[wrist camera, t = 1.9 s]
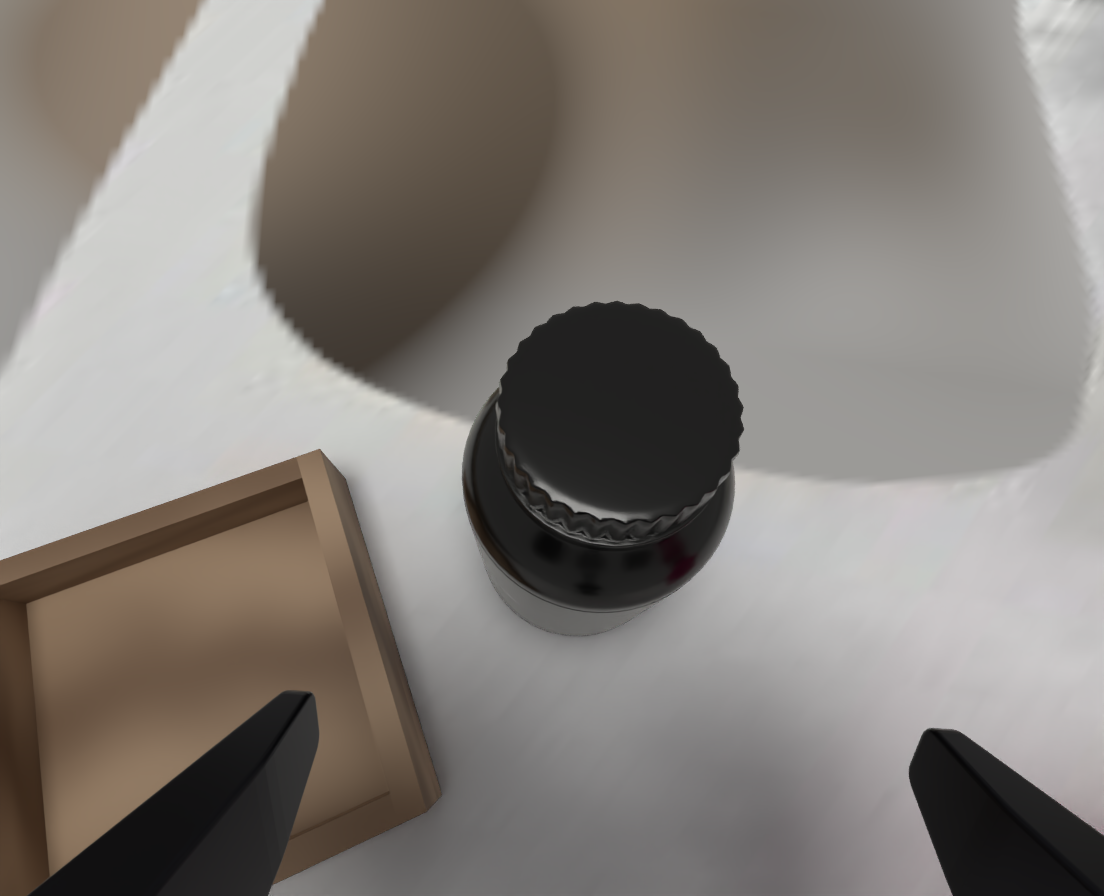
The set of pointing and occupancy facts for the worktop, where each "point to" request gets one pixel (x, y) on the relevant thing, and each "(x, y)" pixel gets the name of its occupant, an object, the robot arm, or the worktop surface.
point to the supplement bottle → (602, 466)
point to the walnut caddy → (201, 667)
